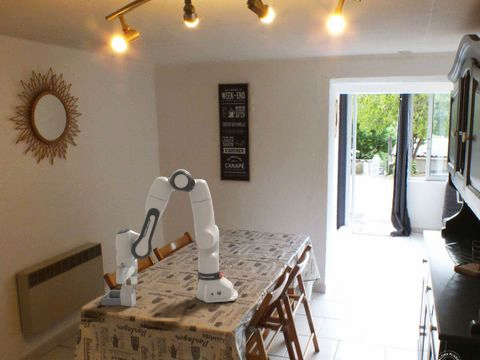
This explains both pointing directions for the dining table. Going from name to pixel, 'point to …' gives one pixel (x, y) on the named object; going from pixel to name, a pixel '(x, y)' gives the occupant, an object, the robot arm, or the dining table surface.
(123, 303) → the white rectangular block
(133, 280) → the syrup box
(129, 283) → the scraper
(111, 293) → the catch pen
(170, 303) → the dining table surface
